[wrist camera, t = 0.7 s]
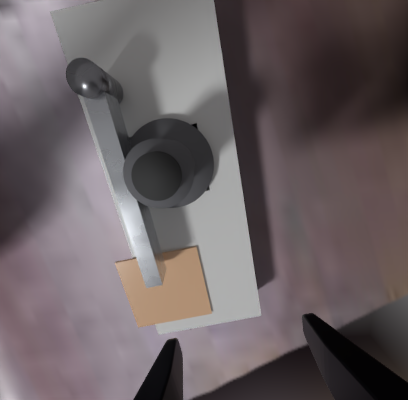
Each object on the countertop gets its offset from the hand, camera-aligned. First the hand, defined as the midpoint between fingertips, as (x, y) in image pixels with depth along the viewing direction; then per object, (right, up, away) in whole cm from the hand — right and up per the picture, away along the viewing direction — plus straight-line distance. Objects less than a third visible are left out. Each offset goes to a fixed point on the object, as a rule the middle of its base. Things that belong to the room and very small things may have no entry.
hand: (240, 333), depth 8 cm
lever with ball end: (-7, +7, +7) cm, 12 cm away
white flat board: (-4, +7, +11) cm, 13 cm away
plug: (-4, +9, +10) cm, 14 cm away
